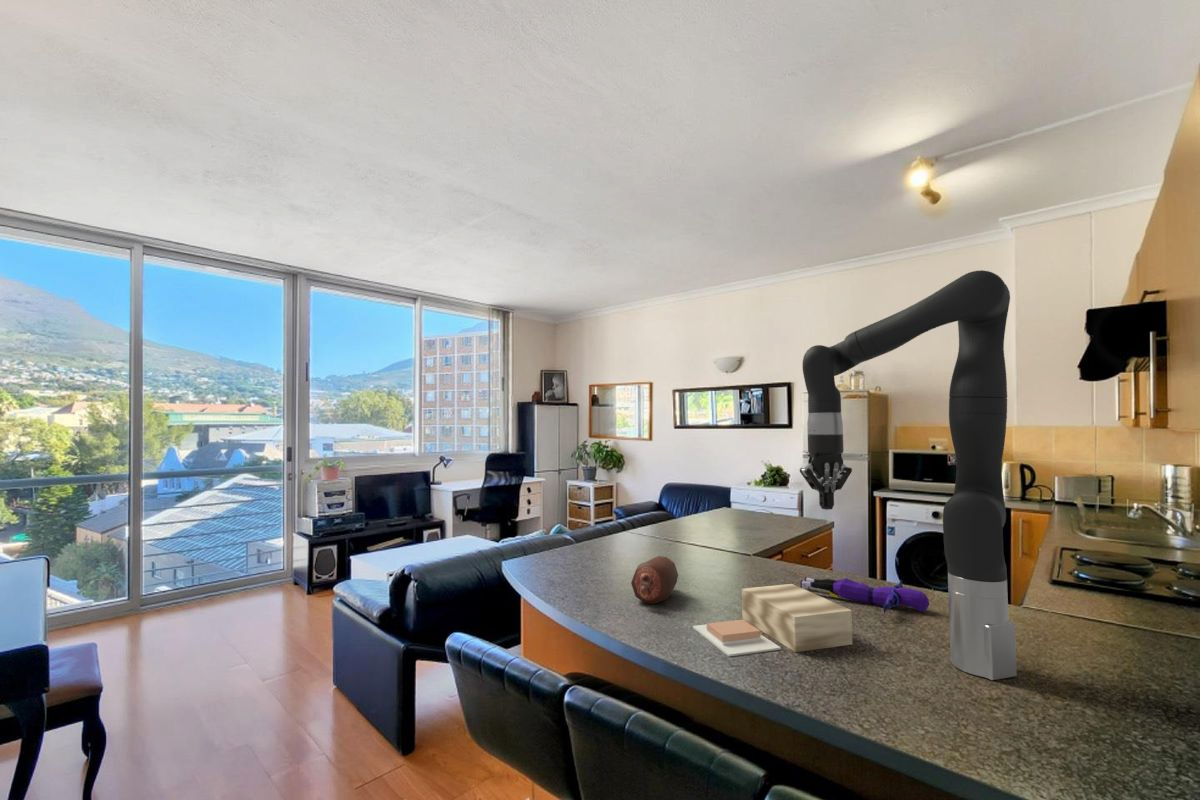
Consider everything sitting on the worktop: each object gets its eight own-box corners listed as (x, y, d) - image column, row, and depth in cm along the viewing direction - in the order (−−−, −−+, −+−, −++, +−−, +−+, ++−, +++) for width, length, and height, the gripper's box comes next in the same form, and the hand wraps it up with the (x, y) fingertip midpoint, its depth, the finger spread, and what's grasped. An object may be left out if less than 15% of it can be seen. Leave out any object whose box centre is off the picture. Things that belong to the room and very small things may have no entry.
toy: (788, 606, 137) (923, 631, 119) (787, 585, 137) (921, 606, 119) (817, 582, 159) (935, 600, 141) (816, 563, 159) (934, 579, 141)
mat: (780, 649, 109) (780, 647, 109) (728, 656, 105) (728, 654, 105) (739, 622, 124) (739, 620, 124) (692, 627, 121) (692, 625, 121)
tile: (722, 635, 110) (722, 645, 110) (760, 630, 113) (760, 640, 112) (706, 623, 117) (706, 632, 117) (742, 619, 119) (742, 628, 119)
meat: (647, 586, 153) (647, 550, 154) (686, 591, 148) (686, 554, 149) (622, 606, 135) (622, 565, 136) (665, 612, 130) (665, 570, 131)
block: (852, 644, 111) (851, 610, 112) (795, 652, 107) (794, 617, 108) (792, 612, 130) (792, 583, 131) (742, 618, 127) (741, 588, 127)
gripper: (811, 433, 116) (813, 512, 115) (861, 432, 120) (863, 510, 119) (790, 432, 123) (791, 508, 122) (837, 432, 127) (839, 505, 126)
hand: (826, 508), depth 121 cm, fingers closed
